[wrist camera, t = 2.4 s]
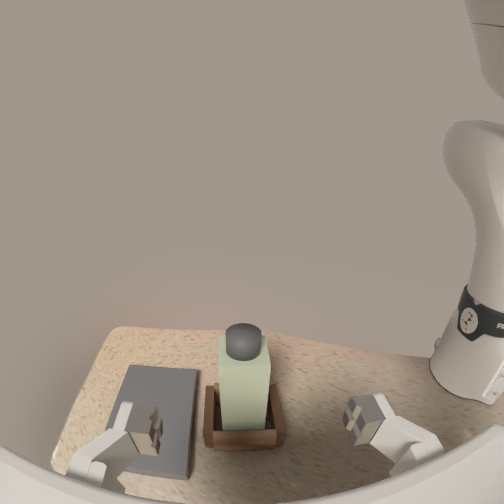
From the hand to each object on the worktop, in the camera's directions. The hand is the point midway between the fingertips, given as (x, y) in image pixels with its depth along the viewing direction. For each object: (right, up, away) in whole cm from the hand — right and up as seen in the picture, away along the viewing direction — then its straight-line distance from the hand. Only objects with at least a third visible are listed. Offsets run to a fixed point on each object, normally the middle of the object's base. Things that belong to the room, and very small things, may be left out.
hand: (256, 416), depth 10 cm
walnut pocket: (-1, -14, +19) cm, 23 cm away
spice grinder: (-1, -14, +19) cm, 23 cm away
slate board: (-12, -14, +18) cm, 25 cm away
